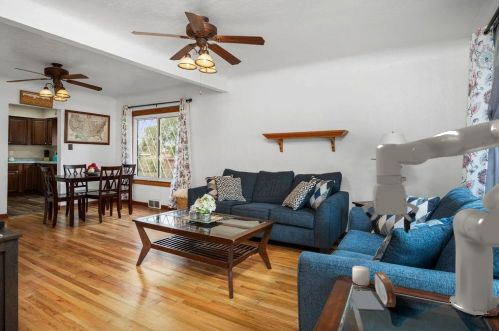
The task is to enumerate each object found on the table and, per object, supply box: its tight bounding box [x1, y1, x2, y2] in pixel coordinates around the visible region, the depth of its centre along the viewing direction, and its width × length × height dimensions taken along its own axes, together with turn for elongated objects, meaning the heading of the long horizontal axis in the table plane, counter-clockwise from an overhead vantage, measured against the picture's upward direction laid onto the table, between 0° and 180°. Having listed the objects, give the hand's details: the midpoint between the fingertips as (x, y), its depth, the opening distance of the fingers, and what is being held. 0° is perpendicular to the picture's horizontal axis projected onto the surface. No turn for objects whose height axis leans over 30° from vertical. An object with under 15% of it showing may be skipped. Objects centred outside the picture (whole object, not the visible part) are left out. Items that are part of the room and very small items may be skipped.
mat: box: [350, 289, 385, 312], centre depth 99 cm, size 8×14×1 cm, turn 174°
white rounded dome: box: [351, 265, 370, 286], centre depth 111 cm, size 6×6×6 cm
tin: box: [373, 271, 397, 308], centre depth 98 cm, size 15×3×8 cm, turn 171°
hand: (390, 231), depth 97 cm, fingers open, 9 cm apart
